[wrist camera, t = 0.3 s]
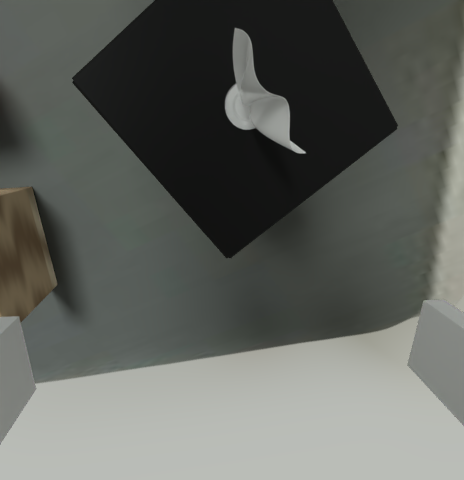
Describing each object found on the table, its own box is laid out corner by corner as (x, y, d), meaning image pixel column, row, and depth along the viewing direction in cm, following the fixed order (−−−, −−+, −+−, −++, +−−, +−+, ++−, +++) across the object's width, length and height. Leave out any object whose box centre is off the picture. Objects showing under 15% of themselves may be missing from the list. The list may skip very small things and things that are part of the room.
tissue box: (208, 180, 35) (239, 305, 8) (161, 122, 32) (2, 48, 6) (261, 136, 34) (483, 122, 8) (218, 73, 32) (320, -267, 5)
